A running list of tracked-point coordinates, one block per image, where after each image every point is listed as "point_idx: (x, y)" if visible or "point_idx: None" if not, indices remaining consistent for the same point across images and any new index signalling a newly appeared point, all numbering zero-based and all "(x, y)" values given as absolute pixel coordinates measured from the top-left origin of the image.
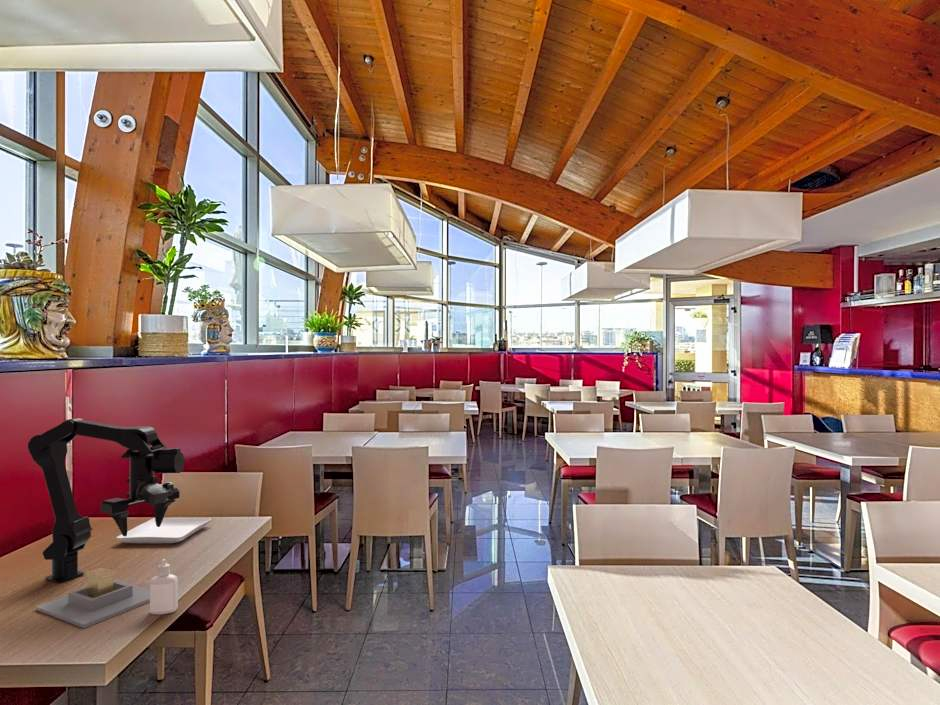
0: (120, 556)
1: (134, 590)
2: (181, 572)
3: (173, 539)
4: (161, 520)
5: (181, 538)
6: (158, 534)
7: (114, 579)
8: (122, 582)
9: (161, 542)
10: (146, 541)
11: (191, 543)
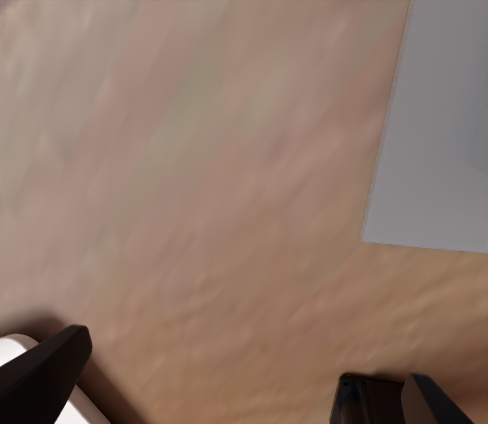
0: (190, 393)
1: (463, 12)
2: (166, 64)
3: None
4: (18, 363)
5: (12, 334)
6: None
7: (365, 240)
8: (383, 180)
9: None
10: (93, 408)
11: (3, 300)
